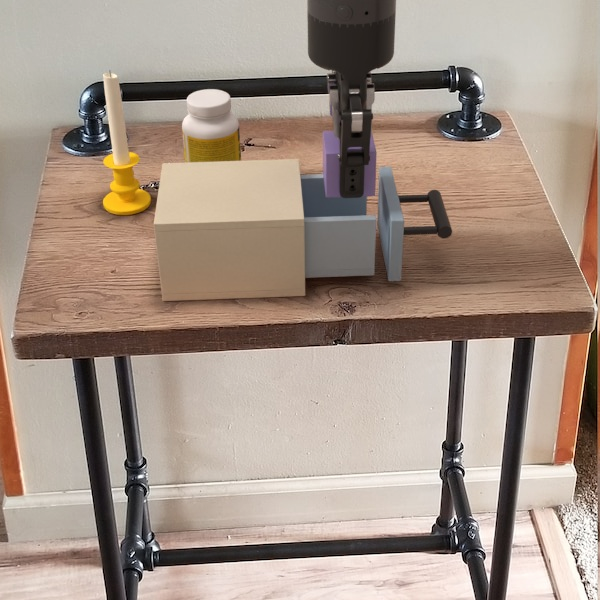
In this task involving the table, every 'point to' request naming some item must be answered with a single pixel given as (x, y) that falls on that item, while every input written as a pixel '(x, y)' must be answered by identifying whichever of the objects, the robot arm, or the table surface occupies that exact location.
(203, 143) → the pill bottle
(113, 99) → the candle
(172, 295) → the drawer cabinet
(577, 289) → the table surface
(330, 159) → the block
